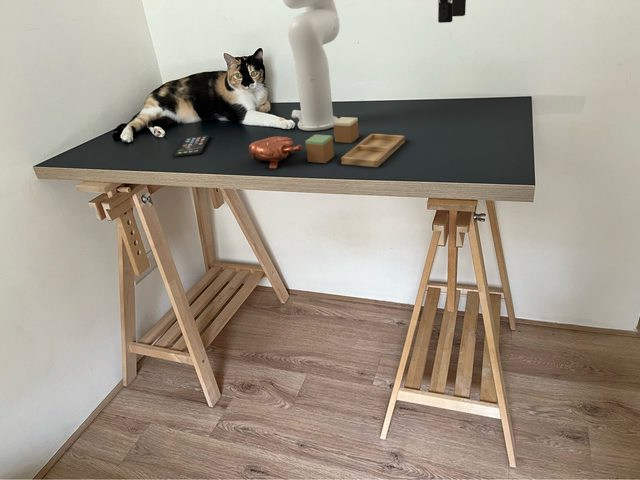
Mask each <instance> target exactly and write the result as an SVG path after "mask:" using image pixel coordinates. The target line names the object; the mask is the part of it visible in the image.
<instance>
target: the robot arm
mask: <svg viewBox="0 0 640 480" xmlns="http://www.w3.org/2000/svg"><path fill="white" fill-rule="evenodd" d="M282 1H283V3H284V5H285V6H286V7H288V8H289V9H293V10H296V9H302V8H305V11H304V12H301V13H298V14H297V15H296V16H294V17H293V18H292V19H291V21H290V23H289V25H288V29H287V33H288V34H287V37H288V41H289V44H290V48H291V52H292V54H293V60H294V66H295V74H296V80H297V86H298V87H297V88H298V90H297V91H298V98H299V105H300V110H299V109H293V110H292V112H291V118H292V119H298V122H297V128H298V129H300V130H302V131H307V132H317V131H324V130H329V129H332V128H334V124H333V122H335V121H336V120H338V119H339V118H338V117H337V116H335V115H334V112H333V110H334V109H333V101H332V100H333V99H332V89H331V77H330V69H329V67H330V66H329V61H328V57H327V54H326V50H325V48H324V45H326V44H329V43H332V42H333V41H334V40H335V39H336V38H337V36H338V35H339V33H340V18H339V14H338V10H337V7H336V4H335V0H282ZM437 4H438V5H437V6H438V7H437V9H438V10H437V11H438V13H437V22H438V23H440V24H443V23H444V24H445V23H446V24H447V23H452V22H453V20H454V19H453V17H465V16H466V10H467V9H466V7H467V6H466V5H467V0H437Z"/></svg>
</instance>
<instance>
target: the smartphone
mask: <svg viewBox="0 0 640 480" xmlns="http://www.w3.org/2000/svg"><path fill="white" fill-rule="evenodd" d="M209 139H210V135H209V134H208V135H198V136H197V135H196V136H189V137H185V139H183V141H182V143H181V144H180V146H179V147H178V148H177V150H176V152H175V153H174V156H175V157H184V156H192V155H193V156H194V155H195V156H196V155H200V154H202V152H203V150H204V148H205V146H206V145H207V142H209Z"/></svg>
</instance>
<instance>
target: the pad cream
mask: <svg viewBox="0 0 640 480" xmlns="http://www.w3.org/2000/svg"><path fill="white" fill-rule="evenodd" d="M333 124H334V127H333V135H334V142H335V143H345V144H353V142H355V141H357V139H358V138H360V133H359V131H360V130H359V119H358V117H350V116H349V117H347V116H340V118H338V120H336V121H335V122H333Z"/></svg>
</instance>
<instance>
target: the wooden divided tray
mask: <svg viewBox="0 0 640 480" xmlns="http://www.w3.org/2000/svg"><path fill="white" fill-rule="evenodd" d="M404 143H406V135H400V134H399V135H397V134H383V133H370V134H369V135H368V136H366V137H365V138H364V139H363V140H361V141H360V142H359V143H358V144H356V145H355V146H354V147H353V148H351V149H350V150H349V151H347V152H346V153H345V154H344V155H342V156H341V157H340V161H341V165H349V166H351V165H352V166H359V167H360V166H361V167H370V168H379V167H380V165H383V163H384V162H385V161H386V160H387V159H388V158H390V156H392V155H393V154H394V153H395V152H396V151H397V150H398V149H399V148H400V147H401V146H402V145H403V144H404Z"/></svg>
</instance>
